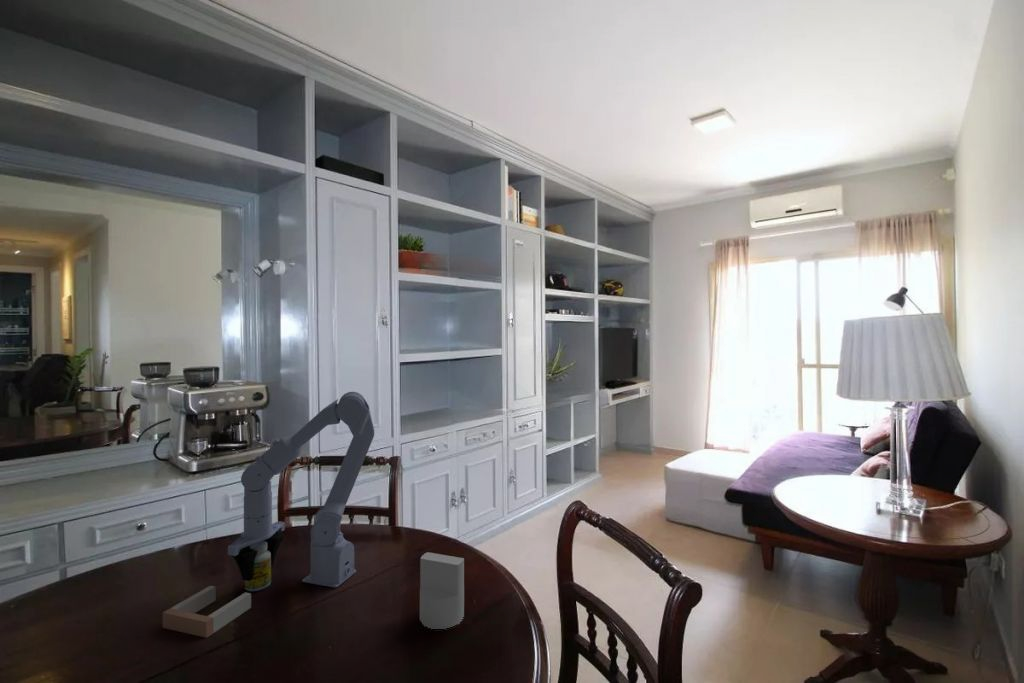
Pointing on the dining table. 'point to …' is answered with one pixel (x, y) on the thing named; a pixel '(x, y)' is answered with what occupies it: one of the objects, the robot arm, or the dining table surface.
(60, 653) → the dining table surface
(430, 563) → the grey rounded block
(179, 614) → the frame
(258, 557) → the supplement bottle
